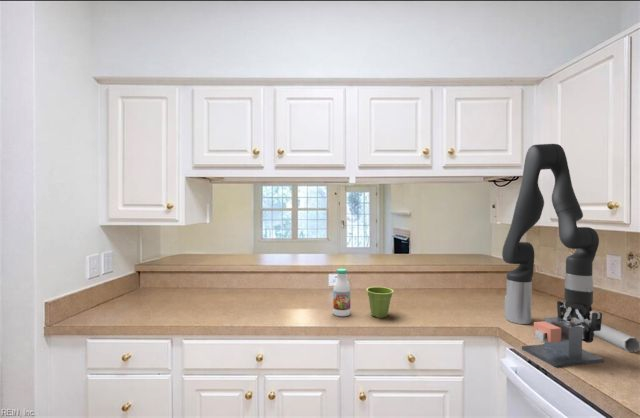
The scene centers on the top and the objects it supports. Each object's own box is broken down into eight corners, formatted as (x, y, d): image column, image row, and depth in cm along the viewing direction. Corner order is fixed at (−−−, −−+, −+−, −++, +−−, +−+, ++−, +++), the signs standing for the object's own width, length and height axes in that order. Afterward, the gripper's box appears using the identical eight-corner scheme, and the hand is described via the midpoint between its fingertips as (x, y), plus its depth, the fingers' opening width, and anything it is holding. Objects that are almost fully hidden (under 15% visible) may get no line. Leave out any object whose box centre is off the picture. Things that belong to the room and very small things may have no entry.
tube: (568, 316, 139) (622, 340, 114) (581, 311, 139) (637, 335, 114) (572, 328, 139) (627, 355, 114) (585, 324, 139) (642, 350, 114)
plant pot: (375, 321, 143) (375, 294, 143) (361, 312, 154) (361, 288, 154) (398, 317, 147) (398, 291, 147) (383, 309, 158) (384, 285, 158)
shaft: (532, 341, 112) (532, 324, 112) (577, 336, 116) (577, 320, 116) (546, 348, 107) (546, 330, 107) (593, 343, 111) (594, 326, 110)
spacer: (533, 334, 113) (533, 322, 113) (543, 333, 114) (544, 321, 114) (550, 342, 107) (550, 329, 107) (561, 341, 108) (561, 328, 107)
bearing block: (521, 349, 116) (522, 317, 116) (566, 344, 120) (566, 314, 119) (555, 367, 103) (555, 331, 103) (603, 361, 107) (604, 327, 107)
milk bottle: (330, 312, 155) (330, 268, 154) (346, 310, 157) (346, 267, 157) (337, 317, 148) (337, 271, 147) (353, 315, 150) (353, 270, 150)
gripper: (550, 283, 119) (549, 330, 119) (590, 293, 105) (589, 347, 105) (568, 282, 120) (567, 329, 120) (610, 292, 106) (609, 345, 106)
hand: (577, 337), depth 113 cm, fingers open, 6 cm apart
